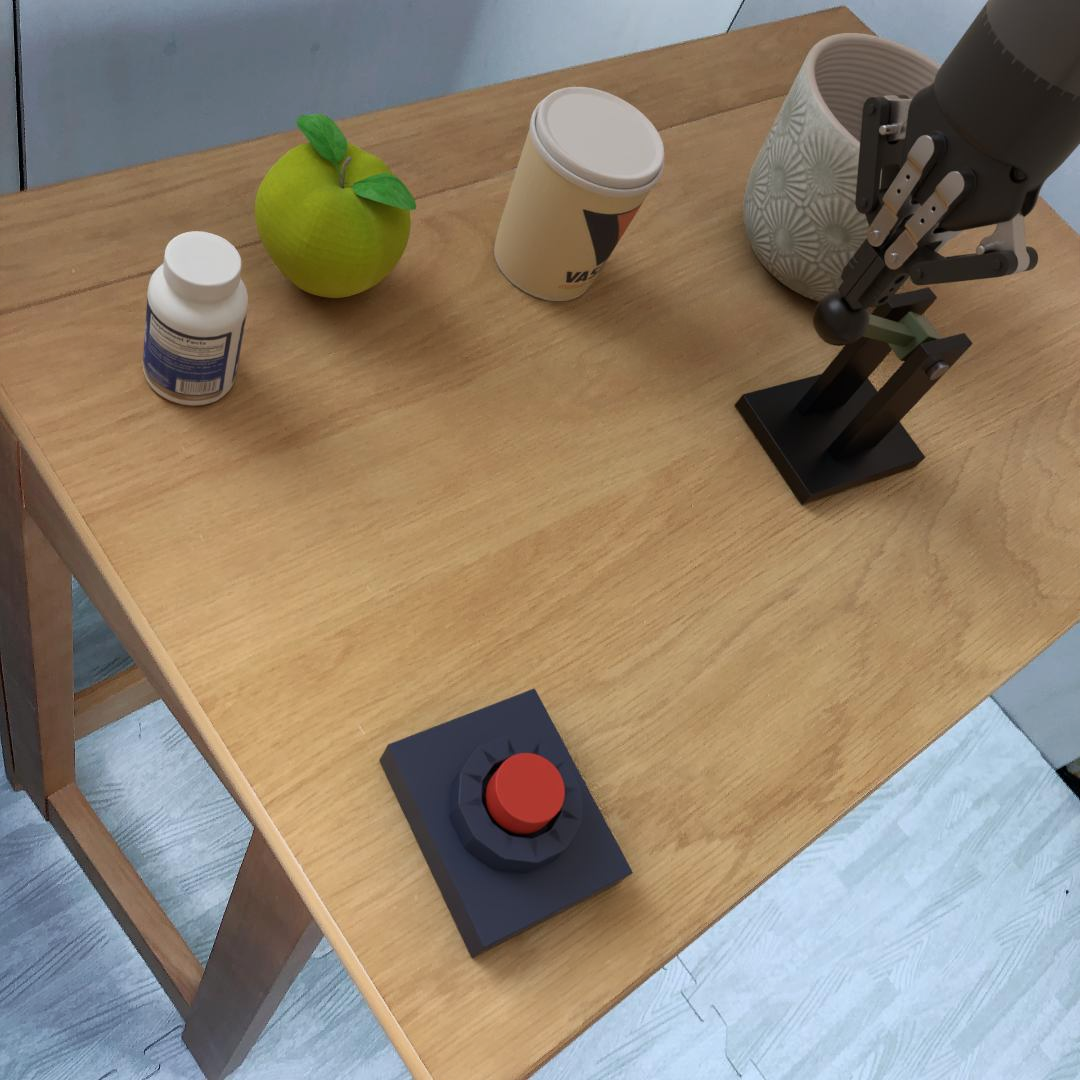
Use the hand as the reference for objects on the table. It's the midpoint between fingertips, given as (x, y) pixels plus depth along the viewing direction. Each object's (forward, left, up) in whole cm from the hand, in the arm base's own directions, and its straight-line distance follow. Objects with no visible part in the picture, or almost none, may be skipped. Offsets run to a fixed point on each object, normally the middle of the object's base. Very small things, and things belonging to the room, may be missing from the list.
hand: (855, 298), depth 66 cm
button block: (-16, +27, -17) cm, 36 cm away
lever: (0, -4, -5) cm, 7 cm away
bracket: (0, -10, -17) cm, 20 cm away
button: (-16, +27, -13) cm, 34 cm away
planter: (+16, -20, -17) cm, 31 cm away
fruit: (+22, +21, -17) cm, 35 cm away
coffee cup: (+20, +4, -17) cm, 27 cm away
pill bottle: (+16, +32, -17) cm, 40 cm away
